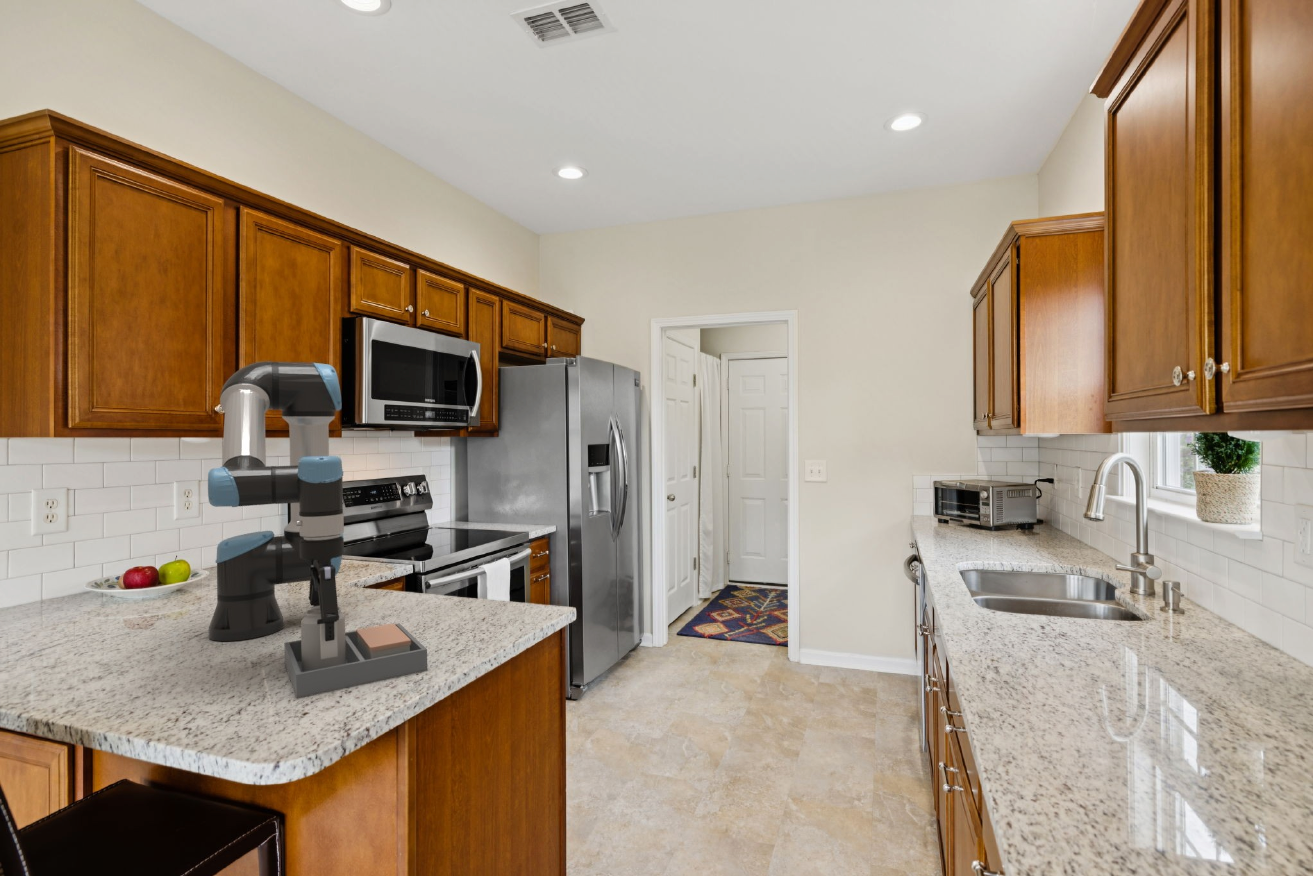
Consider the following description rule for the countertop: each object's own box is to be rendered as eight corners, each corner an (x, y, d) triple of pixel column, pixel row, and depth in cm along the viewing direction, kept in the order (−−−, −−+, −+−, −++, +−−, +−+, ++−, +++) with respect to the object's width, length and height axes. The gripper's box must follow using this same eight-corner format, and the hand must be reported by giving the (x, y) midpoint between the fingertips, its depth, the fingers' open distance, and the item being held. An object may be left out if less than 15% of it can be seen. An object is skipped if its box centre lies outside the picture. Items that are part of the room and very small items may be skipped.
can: (328, 680, 120) (326, 615, 120) (292, 678, 121) (291, 614, 121) (354, 666, 127) (353, 604, 127) (320, 664, 129) (319, 603, 128)
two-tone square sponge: (356, 654, 134) (356, 629, 134) (394, 647, 138) (393, 623, 138) (370, 675, 122) (370, 647, 122) (411, 666, 126) (411, 640, 126)
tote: (284, 667, 130) (284, 642, 130) (399, 646, 142) (399, 623, 142) (296, 703, 112) (296, 674, 112) (427, 675, 124) (427, 649, 124)
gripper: (292, 531, 132) (294, 635, 132) (307, 547, 112) (309, 670, 112) (333, 527, 136) (335, 628, 137) (355, 543, 116) (357, 661, 116)
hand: (323, 647), depth 124 cm, fingers open, 13 cm apart
